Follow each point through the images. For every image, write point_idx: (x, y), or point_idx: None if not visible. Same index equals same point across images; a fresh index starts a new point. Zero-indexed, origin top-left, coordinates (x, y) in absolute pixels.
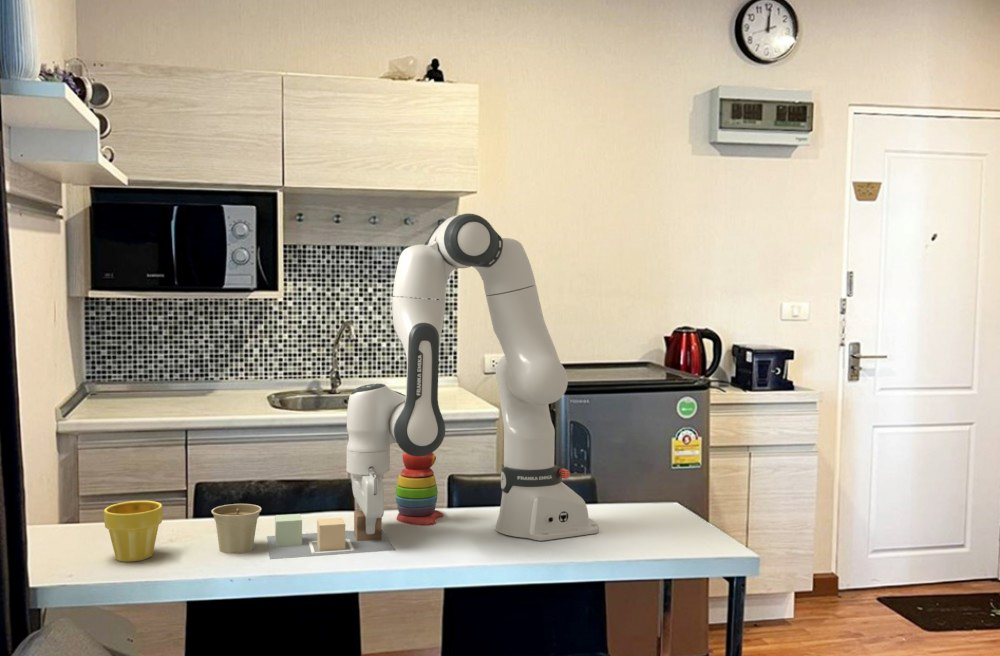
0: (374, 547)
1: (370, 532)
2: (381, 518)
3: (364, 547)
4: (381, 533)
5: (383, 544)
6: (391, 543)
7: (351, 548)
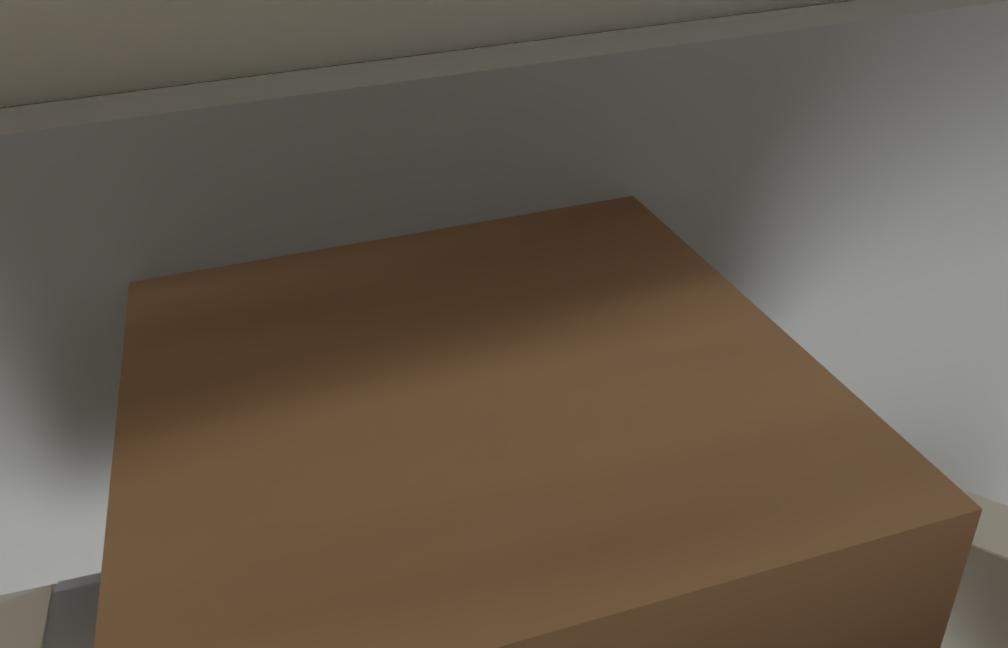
0: (1001, 292)
1: None
2: (909, 449)
3: (941, 417)
4: (682, 247)
5: (931, 162)
6: (935, 14)
7: None
